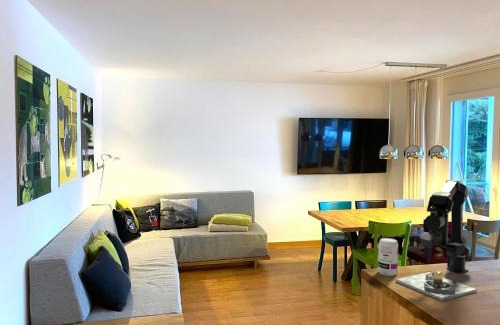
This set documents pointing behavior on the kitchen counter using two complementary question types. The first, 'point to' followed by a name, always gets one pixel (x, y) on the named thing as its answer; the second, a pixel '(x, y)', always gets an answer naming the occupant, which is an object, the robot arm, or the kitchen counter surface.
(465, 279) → the kitchen counter surface
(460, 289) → the carrier
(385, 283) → the kitchen counter surface
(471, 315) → the kitchen counter surface
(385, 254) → the supplement can
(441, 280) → the gear
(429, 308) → the kitchen counter surface
